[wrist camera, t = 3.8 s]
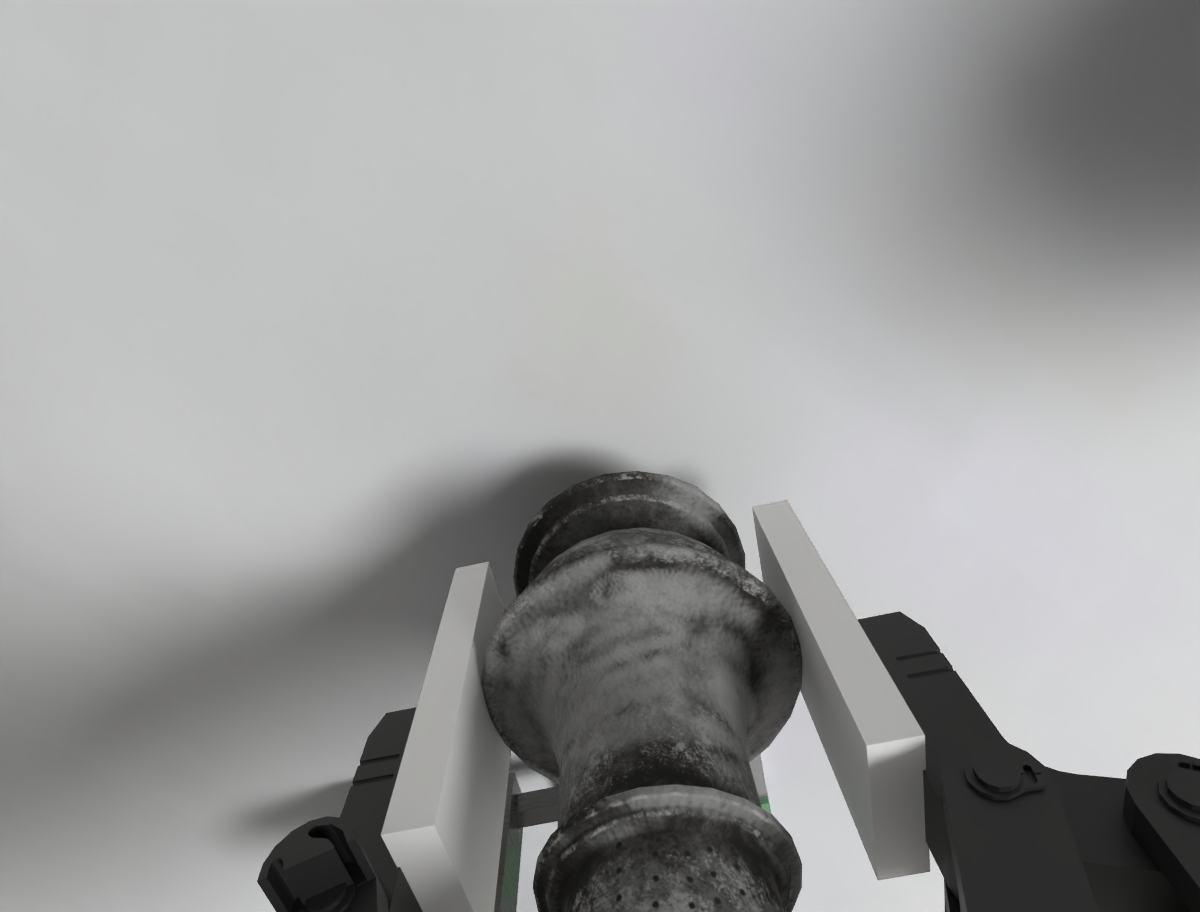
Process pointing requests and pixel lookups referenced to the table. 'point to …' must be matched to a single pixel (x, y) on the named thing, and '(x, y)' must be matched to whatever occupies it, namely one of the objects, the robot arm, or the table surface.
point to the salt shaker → (647, 701)
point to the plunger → (520, 835)
